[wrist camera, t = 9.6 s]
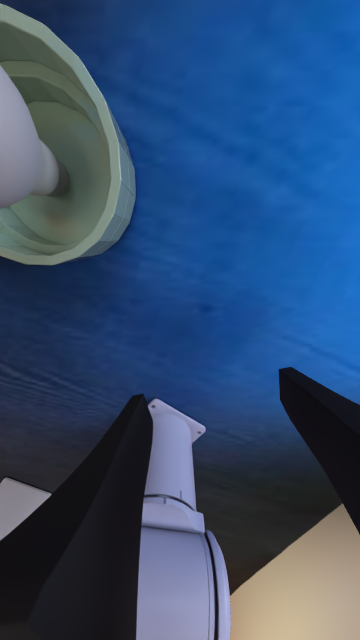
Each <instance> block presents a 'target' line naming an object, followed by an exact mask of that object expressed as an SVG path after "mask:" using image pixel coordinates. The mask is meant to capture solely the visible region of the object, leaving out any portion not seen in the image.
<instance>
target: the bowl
mask: <svg viewBox="0 0 360 640" xmlns="http://www.w3.org/2000/svg"><path fill="white" fill-rule="evenodd" d="M0 65H1V67H2V68H3V69H4V71H5V72H6V73H7V75H8V76H9V78H10V79H11V81H12V82H13V84H14V85H15V86H16V88H17V89H18V91H19V92H20V94H21V96H22V98H23V100H24V102H25V104H26V105H27V107H28V109H29V112H30V115H31V117H32V120H33V123H34V126H35V128H36V131H37V134H38V136H39V139H40V140H41V141H42V142H43V143H44V144H45V145H46V146H47V147H48V148H49V149H50V151H51V152H52V153H53V155H54V156H55V157H56V158H57V159H58V160H59V161H61V162H62V163H63V164H64V166H65V167H66V169H67V170H68V173H69V176H70V187H69V190H68V192H67V193H66V194H65V195H64V196H62V197H50V196H46V195H44V196H34V195H30V194H28V195H27V196H26V197H25V198H23V199H22V200H20V201H19V202H17V203H15V204H13V205H11V206H9V207H5V208H1V209H0V256H2V257H5V258H8V259H11V260H14V261H17V262H20V263H23V264H28V265H57V264H63V263H68V262H74V261H80V260H84V259H87V258H91V257H94V256H97V255H100V254H102V253H104V252H105V251H106V250H107V249H109V248H110V247H111V246H112V245H114V244H115V243H116V242H118V240H119V239H120V237H121V236H122V234H123V232H124V231H125V229H126V227H127V226H128V224H129V223H130V222H129V221H130V219H131V215H132V211H133V207H134V203H135V197H136V189H135V170H134V166H133V162H132V159H131V156H130V153H129V149H128V146H127V143H126V140H125V138H124V136H123V134H122V132H121V130H120V128H119V126H118V124H117V122H116V120H115V118H114V116H113V114H112V112H111V110H110V108H109V106H108V104H107V102H106V100H105V98H104V97H103V95H102V93H101V92H100V90H99V89H98V87H97V85H96V84H95V82H94V80H93V79H92V77H91V76H90V74H89V72H88V71H87V69H86V67H85V66H84V64H83V63H82V61H81V59H79V57H78V56H77V55H76V54H75V53H74V52H73V51H72V50H71V49H70V48H69V47H68V46H66V45H65V44H64V43H63V42H62V41H61V40H60V39H59V38H58V37H57V36H56V35H55V34H54V33H53V32H52V31H51V30H50V29H49V28H48V27H47V26H45V25H44V24H43V23H41V22H39V21H37V20H35V19H33V18H30V17H28V16H26V15H24V14H22V13H20V12H18V11H16V10H14V9H12V8H10V7H8V6H6V5H2V4H0Z"/></svg>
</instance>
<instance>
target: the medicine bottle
mask: <svg viewBox="0 0 360 640" xmlns="http://www.w3.org/2000/svg"><path fill="white" fill-rule="evenodd" d="M51 495H52V494H51V493H49V492H46V491H43V490H41V489H38V488H35V487H32V486H30V485H27V484H24V483H21V482H19V481H16V480H13V479H10V478H4V479H3V480H2V482H1V483H0V540H2V539H3V538H4V537H5V536H6V535H8V534H9V533H10V532H11V531H12V530H13V529H15V528H16V527H17V526H18V525H19V524H20V523H21V522H23V521H24V520H25V519H26V518H27V517H28V516H29V515H30V514H31V513H33V512H34V511H35V510H36V509H37V508H38V507H39V506H40V505H41V504H42V503H43V502H44V501H45V500H46V499H48V498H49V497H50V496H51Z"/></svg>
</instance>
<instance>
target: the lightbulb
mask: <svg viewBox="0 0 360 640" xmlns="http://www.w3.org/2000/svg"><path fill="white" fill-rule="evenodd" d="M69 187H70V176H69V173H68V170H67V169H66V167H65V166H64V164H63V163H62V162H61V161H59V160H58V159H57V158H56V157H55V156H54V155H53V153H52V152H51V151H50V149H49V148H48V147H47V146H46V145H45V144H44V143H43V142H42V141H41V140H40V139H39V136H38V134H37V131H36V128H35V126H34V123H33V120H32V117H31V115H30V112H29V109H28V107H27V105H26V104H25V102H24V100H23V98H22V96H21V94H20V92H19V91H18V89H17V88H16V86H15V85H14V84H13V82H12V81H11V79H10V78H9V76H8V75H7V73H6V72H5V71H4V69H3V68H2V67H1V65H0V209H1V208H5V207H9V206H11V205H13V204H15V203H17V202H19V201H20V200H22V199H23V198H25V197H26V196H27V195H28V194H30V195H34V196H44V195H46V196H50V197H62V196H64V195H65V194H66V193H67V192H68V190H69Z"/></svg>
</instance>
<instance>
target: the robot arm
mask: <svg viewBox="0 0 360 640" xmlns="http://www.w3.org/2000/svg"><path fill="white" fill-rule="evenodd" d="M279 384H280V400H281V402H282V404H283V406H284V408H285V410H286V412H287V414H288V416H289V418H290V420H291V421H292V423H293V424H294V426H295V427H296V429H297V430H298V432H299V433H300V435H301V436H302V438H303V439H304V441H305V442H306V444H307V445H308V447H309V448H310V450H311V451H312V453H313V454H314V456H315V457H316V459H317V460H318V462H319V463H320V465H321V466H322V468H323V470H324V471H325V473H326V474H327V476H328V478H329V479H330V481H331V483H332V485H333V486H334V488H335V490H336V492H337V494H338V495H339V497H340V499H341V501H342V502H343V504H344V506H345V508H346V510H347V512H348V513H349V515H350V517H351V519H352V521H353V523H354V525H355V526H356V528H357V530H358V532H359V534H360V405H358V404H356V403H354V402H352V401H350V400H349V399H347V398H345V397H343V396H341V395H339V394H337V393H335V392H334V391H332V390H330V389H328V388H326V387H325V386H323V385H321V384H319V383H318V382H316V381H314V380H313V379H311V378H309V377H307V376H306V375H304V374H302V373H301V372H299V371H297V370H296V369H294V368H292V367H288V368H282V369H279ZM152 405H155V406H152ZM198 431H199V432H198ZM204 432H205V426H203V425H202V424H200V423H198V422H196V421H195V420H193V419H191V418H190V417H188V416H186V415H184V414H183V413H181V412H179V411H178V410H176V409H174V408H172V407H171V406H169V405H167V404H166V403H164V402H162V401H160V400H159V399H153V400H152V401H151V402H150V403H149V404H148V405H147V402H146V400H145V397H144V394H140V395H134V396H132V397H131V399H130V400H129V402H128V403H127V404H126V406H125V407H124V409H123V410H122V412H121V413H120V415H119V416H118V417H117V419H116V420H115V422H114V423H113V424H112V426H111V427H110V429H109V430H108V431H107V433H106V434H105V435H104V436H103V438H102V439H101V440H100V442H99V443H98V444H97V445H96V447H95V448H94V449H93V450H92V452H91V453H90V454H89V455H88V456H87V458H86V459H85V460H84V461H83V462H82V463H81V464H80V466H79V467H78V468H77V469H76V470H75V471H74V472H73V473H72V474H71V475H70V476H69V477H68V478H67V479H66V480H65V481H64V482H63V483H62V484H61V485H60V486H59V488H58V489H57V490H56V491H55V492H54V493H53V494H52V495H51V496H50V497H49V498H48V499H46V500H45V501H44V502H43V503H42V504H41V505H40V506H39V507H38V508H37V509H36V510H35V511H34V512H33V513H31V514H30V515H29V516H28V517H27V518H26V519H25V520H24V521H23V522H21V523H20V524H19V525H18V526H17V527H16V528H15V529H13V530H12V531H11V532H10V533H9V534H8V535H6V536H5V537H4V538H3V539H2V540H0V640H230V628H231V613H230V612H231V611H230V594H229V585H228V577H227V571H226V566H225V562H224V558H223V555H222V552H221V549H220V547H219V545H218V543H217V541H216V539H215V537H214V535H213V533H212V532H211V531H209V530H204V519H203V514H202V513H198V512H196V501H195V486H194V472H193V457H192V443H193V442H194V441H195V440H196V439H197V438H198V437H199V436H201V435H202V434H203V433H204Z"/></svg>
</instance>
